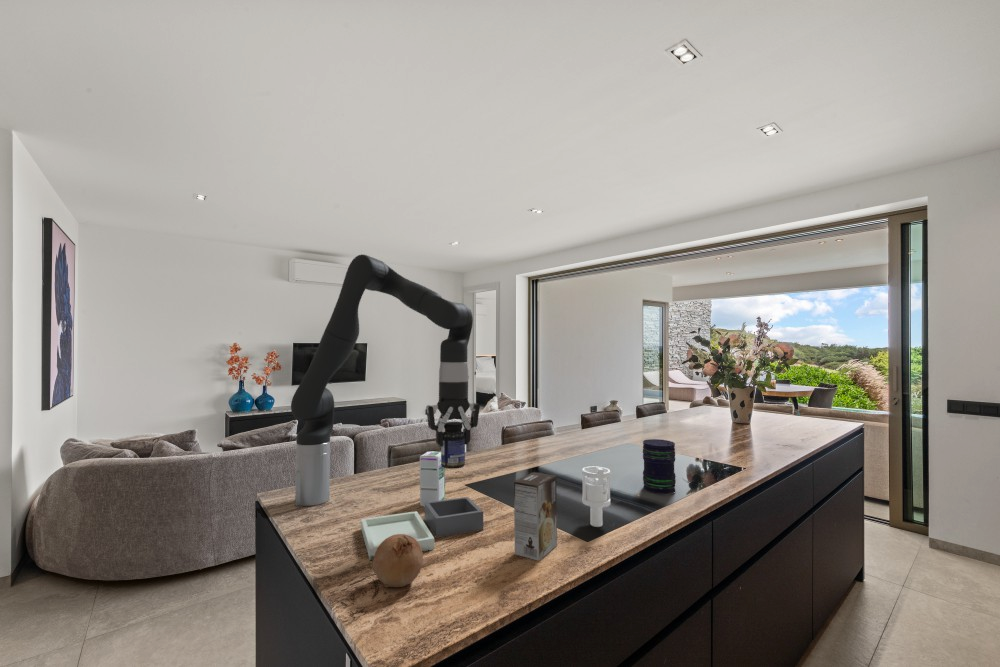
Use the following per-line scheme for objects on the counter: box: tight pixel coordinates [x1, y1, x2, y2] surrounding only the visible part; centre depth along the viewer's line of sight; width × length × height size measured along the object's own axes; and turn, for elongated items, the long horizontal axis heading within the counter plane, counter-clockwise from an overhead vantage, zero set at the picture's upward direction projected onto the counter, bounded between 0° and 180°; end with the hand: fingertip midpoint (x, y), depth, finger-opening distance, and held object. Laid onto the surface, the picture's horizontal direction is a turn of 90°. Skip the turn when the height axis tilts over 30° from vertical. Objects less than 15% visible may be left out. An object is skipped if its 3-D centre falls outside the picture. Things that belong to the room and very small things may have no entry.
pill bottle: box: [440, 421, 466, 470], centre depth 116 cm, size 6×6×11 cm
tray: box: [360, 511, 435, 562], centre depth 107 cm, size 14×18×2 cm
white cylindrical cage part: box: [581, 465, 611, 528], centre depth 116 cm, size 7×7×15 cm
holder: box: [423, 496, 484, 538], centre depth 116 cm, size 12×12×4 cm
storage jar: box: [642, 438, 677, 495], centre depth 144 cm, size 10×10×15 cm
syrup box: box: [419, 450, 446, 507], centre depth 131 cm, size 6×6×14 cm
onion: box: [372, 534, 424, 588], centre depth 88 cm, size 10×9×10 cm
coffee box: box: [513, 472, 558, 562], centre depth 102 cm, size 9×6×16 cm
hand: (452, 444), depth 116 cm, fingers closed on pill bottle, 6 cm apart
